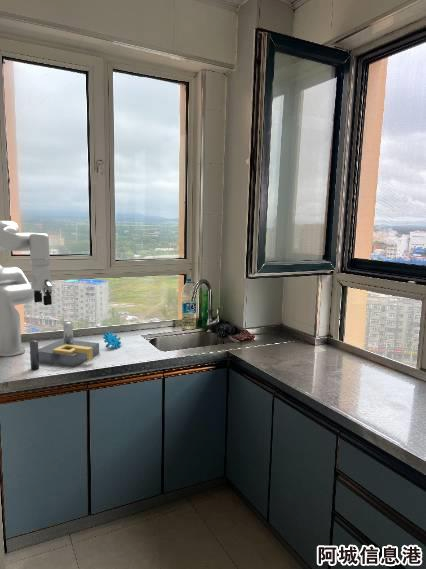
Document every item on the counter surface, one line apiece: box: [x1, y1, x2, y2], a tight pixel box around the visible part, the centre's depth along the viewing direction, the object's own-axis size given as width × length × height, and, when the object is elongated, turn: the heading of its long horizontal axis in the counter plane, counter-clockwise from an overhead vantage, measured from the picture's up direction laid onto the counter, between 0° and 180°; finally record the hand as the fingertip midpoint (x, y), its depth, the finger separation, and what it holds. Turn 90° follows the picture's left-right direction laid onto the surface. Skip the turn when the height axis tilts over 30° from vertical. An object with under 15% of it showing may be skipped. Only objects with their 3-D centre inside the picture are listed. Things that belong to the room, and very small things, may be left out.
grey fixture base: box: [38, 320, 100, 368], centre depth 193 cm, size 20×20×15 cm
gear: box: [102, 331, 122, 350], centre depth 211 cm, size 11×6×10 cm
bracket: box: [53, 344, 94, 361], centre depth 188 cm, size 16×9×5 cm, turn 73°
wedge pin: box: [29, 339, 40, 371], centre depth 178 cm, size 3×3×12 cm
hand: (43, 303), depth 181 cm, fingers open, 9 cm apart
